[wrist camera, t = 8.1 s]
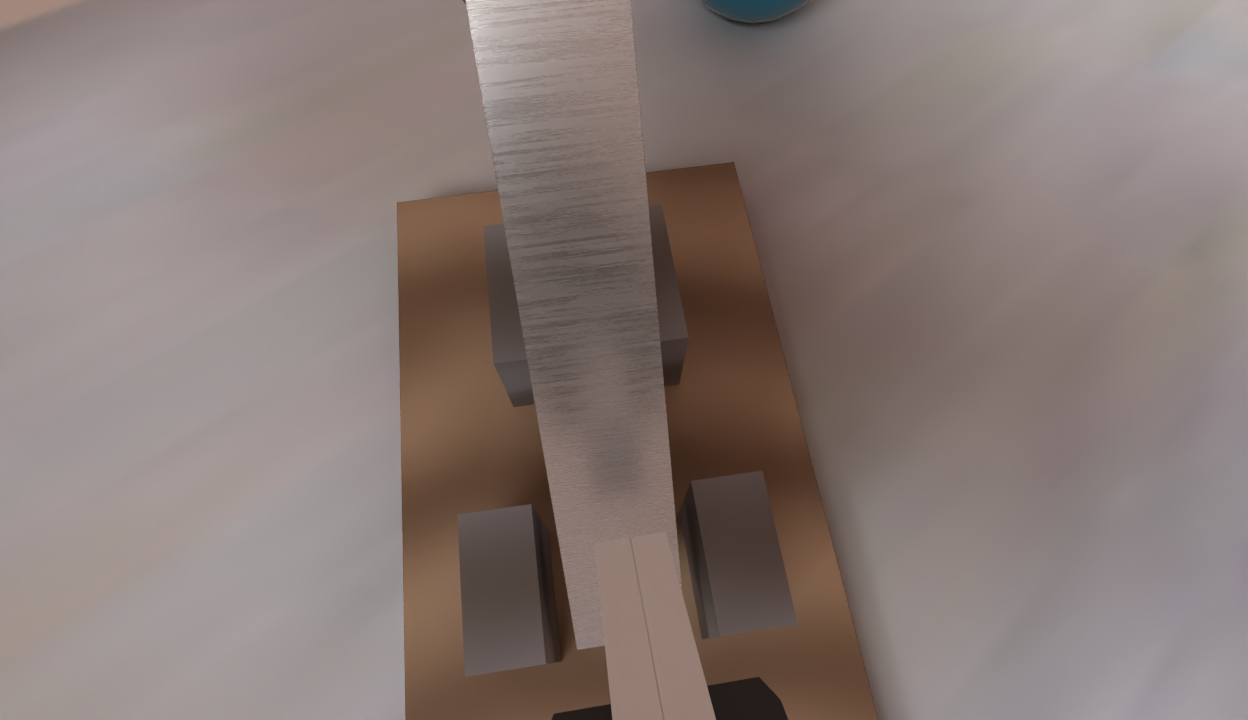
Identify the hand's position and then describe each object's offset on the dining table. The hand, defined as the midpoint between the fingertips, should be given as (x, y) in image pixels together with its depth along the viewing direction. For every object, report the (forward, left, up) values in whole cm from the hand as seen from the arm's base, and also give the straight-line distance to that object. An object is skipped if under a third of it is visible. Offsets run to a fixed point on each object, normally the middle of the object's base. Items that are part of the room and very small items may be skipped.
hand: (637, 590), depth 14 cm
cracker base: (-3, +2, -10) cm, 10 cm away
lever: (0, 0, -6) cm, 6 cm away
